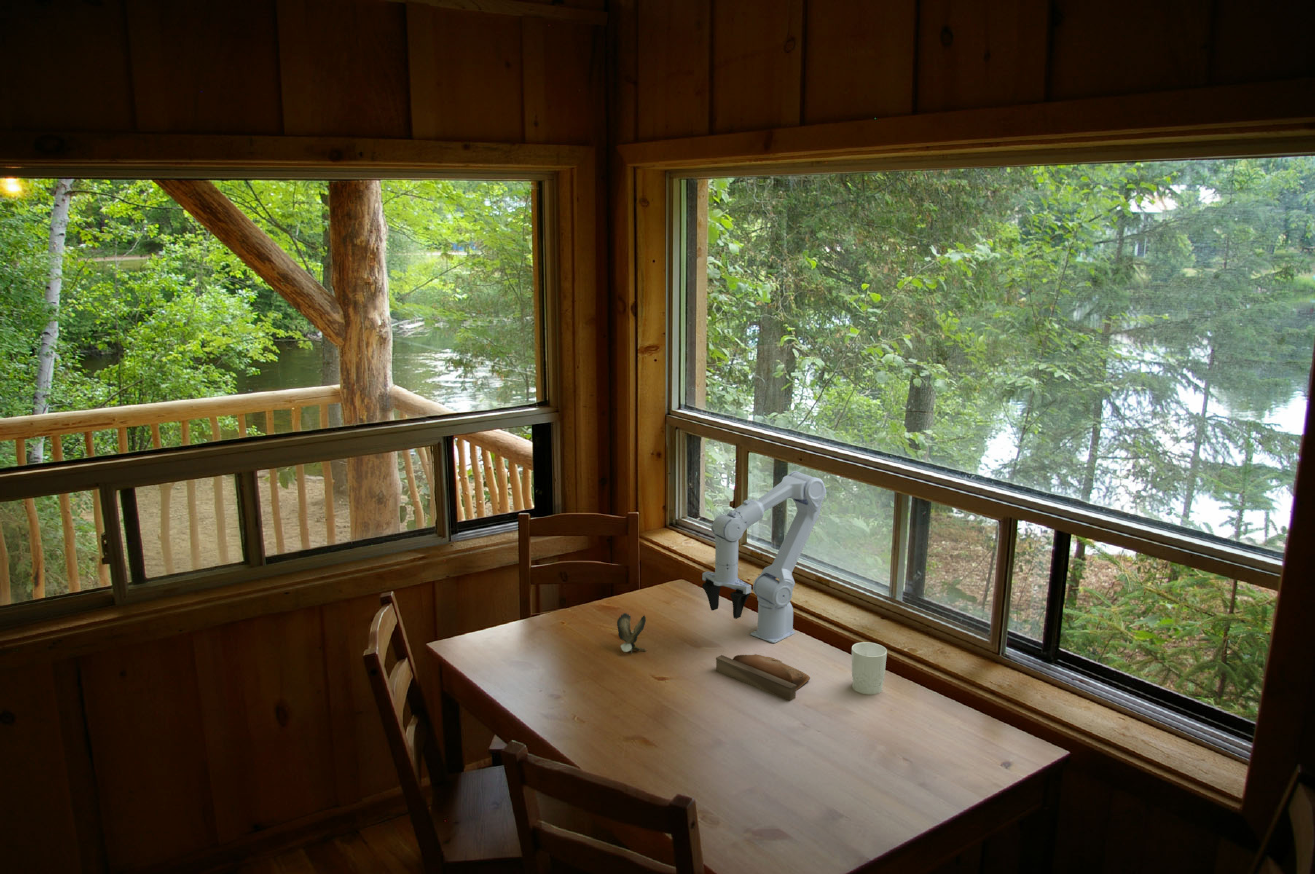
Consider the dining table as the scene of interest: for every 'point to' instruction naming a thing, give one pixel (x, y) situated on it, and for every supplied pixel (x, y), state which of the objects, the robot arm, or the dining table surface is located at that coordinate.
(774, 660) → the sunglasses case
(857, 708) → the dining table surface
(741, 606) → the robot arm
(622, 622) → the eagle figurine
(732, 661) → the walnut stop rail
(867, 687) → the white cup
